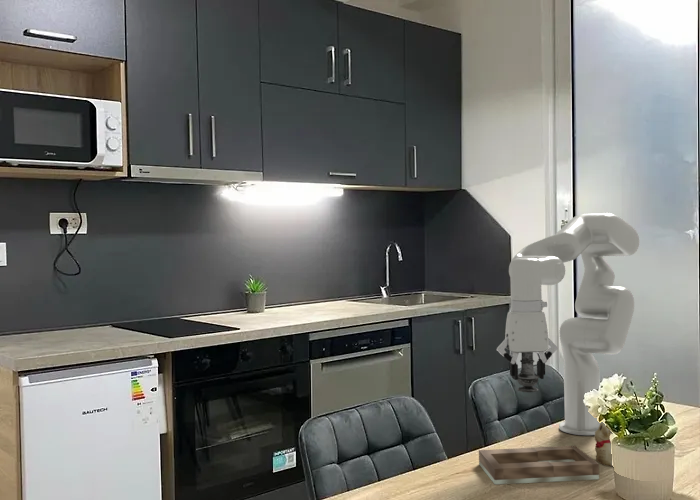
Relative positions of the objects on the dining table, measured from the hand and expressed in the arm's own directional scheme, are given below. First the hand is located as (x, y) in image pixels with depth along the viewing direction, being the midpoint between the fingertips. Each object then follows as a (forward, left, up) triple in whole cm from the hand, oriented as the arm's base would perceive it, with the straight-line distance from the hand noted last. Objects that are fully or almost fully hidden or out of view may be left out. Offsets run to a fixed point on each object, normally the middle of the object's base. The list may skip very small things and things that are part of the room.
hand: (527, 377), depth 181 cm
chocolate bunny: (-17, +8, -20) cm, 27 cm away
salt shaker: (0, 0, -3) cm, 3 cm away
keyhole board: (+2, +13, -19) cm, 23 cm away
